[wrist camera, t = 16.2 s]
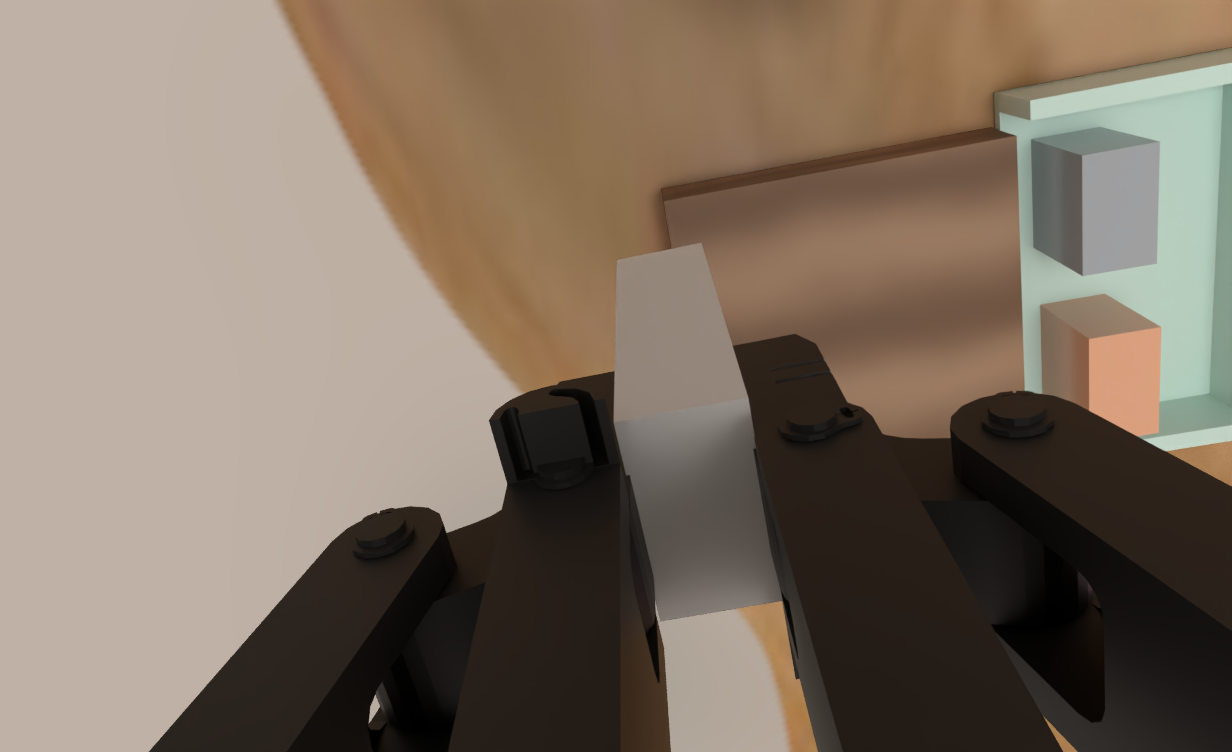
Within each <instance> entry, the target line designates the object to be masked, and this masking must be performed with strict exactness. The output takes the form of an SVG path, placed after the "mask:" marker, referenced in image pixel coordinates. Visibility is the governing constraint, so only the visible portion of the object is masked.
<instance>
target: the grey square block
mask: <svg viewBox="0 0 1232 752" xmlns="http://www.w3.org/2000/svg"><path fill="white" fill-rule="evenodd" d="M1159 161H1160V141H1156V140H1152V139H1148V138H1144V137H1139V136H1135V135H1131V134H1127V133H1123V132H1119V131H1115V130H1111V129H1107V128H1103V127H1096V128H1090V129H1085V130H1079V131H1074V132H1068V133H1063V134H1057V135H1052V136H1046V137H1041V138H1035V139H1031V164H1032V207H1033V248H1035V249H1036V250H1038V251H1040V252H1042V253H1043V254H1045V255H1047V256H1049V257H1050V258H1052V259H1054V260H1055V261H1057V262H1059V263H1061V264H1062V265H1064V266H1066V267H1068V268H1069V269H1071V270H1073V271H1074V272H1076V273H1078V274H1080V275H1081V276H1087V275H1093V274H1099V273H1105V272H1111V271H1116V270H1122V269H1128V268H1134V267H1140V266H1146V265H1152V264H1157V240H1158V200H1159Z"/></svg>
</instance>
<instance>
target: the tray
mask: <svg viewBox="0 0 1232 752" xmlns="http://www.w3.org/2000/svg"><path fill="white" fill-rule="evenodd" d="M994 113H995V129H997V130H1000V131H1003V132H1006V133H1009V134H1013V135H1016V136H1017V161H1018V193H1019V224H1020V255H1021V287H1022V318H1023V349H1024V380H1025V391H1031V392H1034V393H1038V394H1042V361H1041V318H1040V305H1041V304H1047V303H1053V302H1059V301H1065V300H1070V299H1076V298H1082V297H1088V296H1094V295H1100V294H1106V295H1108V296H1110V297H1111V298H1113V299H1115V300H1116V301H1118V302H1120V303H1122V304H1123V305H1125V306H1127V307H1128V308H1130V309H1132V310H1133V311H1135V312H1137V313H1139V314H1140V315H1142V316H1144V317H1145V318H1147V319H1149V320H1150V321H1152V322H1154V323H1156V324H1157V325H1159V326H1161V361H1160V400H1159V433H1154V434H1148V435H1142V436H1138V437H1139V438H1141V439H1143V440H1145V441H1147V442H1149V443H1151V444H1153V445H1154V446H1156V447H1158V448H1160V449H1162V450H1164V451H1170V450H1176V449H1182V448H1188V447H1195V446H1201V445H1207V444H1213V443H1220V442H1226V441H1232V47H1231V48H1226V49H1221V50H1216V51H1210V52H1205V53H1200V54H1194V55H1189V56H1184V57H1179V58H1173V59H1168V60H1163V61H1157V62H1152V63H1147V64H1141V65H1136V66H1131V67H1126V68H1120V69H1115V70H1110V71H1104V72H1099V73H1094V74H1089V75H1083V76H1078V77H1073V78H1067V79H1062V80H1057V81H1052V82H1046V83H1041V84H1036V85H1030V86H1025V87H1020V88H1015V89H1009V90H1004V91H999V92H994ZM1096 127H1103V128H1107V129H1111V130H1115V131H1119V132H1123V133H1127V134H1131V135H1135V136H1139V137H1144V138H1148V139H1152V140H1156V141H1160V161H1159V200H1158V240H1157V264H1152V265H1146V266H1140V267H1134V268H1128V269H1122V270H1116V271H1111V272H1105V273H1099V274H1093V275H1087V276H1081V275H1080V274H1078V273H1076V272H1074V271H1073V270H1071V269H1069V268H1068V267H1066V266H1064V265H1062V264H1061V263H1059V262H1057V261H1055V260H1054V259H1052V258H1050V257H1049V256H1047V255H1045V254H1043V253H1042V252H1040V251H1038V250H1036V249H1035V248H1033V207H1032V164H1031V139H1035V138H1041V137H1046V136H1052V135H1057V134H1063V133H1068V132H1074V131H1079V130H1085V129H1090V128H1096Z"/></svg>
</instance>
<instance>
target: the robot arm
mask: <svg viewBox="0 0 1232 752" xmlns="http://www.w3.org/2000/svg"><path fill="white" fill-rule="evenodd" d="M489 422H490V425H491V429H492V433H493V436H494V440H495V443H496V446H497V450H498V453H499V456H500V460H501V464H502V467H503V470H504V474H505V477H506V480H507V489H506V493H505V498H504V502H503V507H502V510H501V511H499V512H497V513H496V514H494V515H492V516H490V517H488V518H486V519H483V520H481V521H479V522H476V523H473V524H471V525H468V526H465V527H462V528H460V529H457V530H454V531H452V532H449V533H446V531H445V527H444V524H443V522H442V519H441V516H440V514H439V513H437V512H435V511H433V510H431V509H429V508H425V507H411V506H410V507H404V508H397V509H394V508H390V509H386V510H382V511H380V513H379V514H377V513H374V514H371V515H368V516H366V517H365V518H363V520H362V521H360V522H358V523H356V524H355V525H353V526H351V527H349V528H347V529H346V530H345V531H344V532H343V533H341V534H340V535H339V536H338V537H337V538H336V539H334V541H332V542H331V543H330V545H329V546H328V547H327V548H326V549H325V550H324V551H323V553H322V554H321V555H320V556H319V557H318V558H317V559H316V561H315V562H314V563H313V564H312V565H311V566H310V567H309V569H308V570H307V571H306V572H305V573H304V574H303V576H302V577H301V578H300V579H299V580H298V581H297V582H296V584H295V585H294V586H293V587H292V588H291V589H290V590H289V592H288V593H287V594H286V595H285V596H284V598H283V599H282V600H281V601H280V602H279V603H278V604H277V605H276V607H275V608H274V609H273V610H272V611H271V612H270V614H269V615H268V616H267V617H266V618H265V619H264V620H263V621H262V623H261V624H260V625H259V626H258V627H257V628H256V629H255V631H254V632H253V633H252V634H251V635H250V636H249V637H248V639H247V640H246V641H245V642H244V643H243V644H242V645H241V647H240V648H239V649H238V650H237V651H236V652H235V654H234V655H233V656H232V657H231V658H230V659H229V660H228V662H227V663H226V664H225V665H224V666H223V667H222V668H221V670H220V671H219V672H218V673H217V674H216V675H215V676H214V678H213V679H212V680H211V681H210V682H209V683H208V684H207V686H206V687H205V688H204V689H203V690H202V691H201V693H200V694H199V695H198V696H197V697H196V698H195V699H194V701H193V702H192V703H191V704H190V705H189V706H188V708H187V709H186V710H185V711H184V712H183V713H182V714H181V715H180V717H179V718H178V719H177V720H176V721H175V722H174V724H173V725H172V726H171V727H170V728H169V729H168V730H167V732H166V733H165V734H164V735H163V736H162V737H161V738H160V740H159V741H158V742H157V743H156V744H155V745H154V746H153V748H152V749H151V750H150V751H149V752H671V748H670V732H669V718H668V702H667V689H666V688H667V687H666V672H665V657H664V647H663V642H662V638H661V634H660V629H659V626H658V621H657V617H656V611H655V601H656V605H657V609H658V613H659V618H660V621H665V620H671V619H677V618H683V617H689V616H695V615H701V614H707V613H713V612H719V611H725V610H731V609H737V608H743V607H749V606H755V605H760V604H766V603H772V602H778V601H782V602H783V607H784V613H785V619H786V625H787V631H788V636H789V642H790V648H791V654H792V660H793V665H794V671H795V677H796V679H800V681H801V685H802V689H803V693H804V697H805V701H806V705H807V709H808V713H809V717H810V721H811V725H812V729H813V733H814V737H815V741H816V745H817V749H818V752H1063V751H1062V749H1061V747H1060V745H1059V743H1058V742H1057V740H1056V738H1055V736H1054V735H1053V733H1052V731H1051V729H1050V728H1049V726H1048V724H1047V722H1046V721H1045V719H1044V717H1045V718H1046V719H1047V720H1048V721H1049V722H1050V723H1051V724H1052V725H1053V726H1054V727H1055V728H1056V730H1057V731H1058V732H1059V733H1060V734H1061V735H1062V736H1063V737H1064V738H1065V739H1066V740H1067V741H1068V742H1069V743H1070V744H1071V745H1072V746H1073V747H1074V748H1075V749H1076V750H1077V751H1078V752H1232V487H1231V486H1229V485H1228V484H1226V483H1224V482H1222V481H1220V480H1218V479H1216V478H1214V477H1213V476H1211V475H1209V474H1207V473H1205V472H1203V471H1201V470H1199V469H1198V468H1196V467H1194V466H1192V465H1190V464H1188V463H1186V462H1184V461H1183V460H1181V459H1179V458H1177V457H1175V456H1173V455H1171V454H1169V453H1168V452H1166V451H1164V450H1162V449H1160V448H1158V447H1156V446H1154V445H1153V444H1151V443H1149V442H1147V441H1145V440H1143V439H1141V438H1139V437H1138V436H1136V435H1134V434H1132V433H1130V432H1128V431H1126V430H1124V429H1123V428H1121V427H1119V426H1117V425H1115V424H1113V423H1111V422H1109V421H1108V420H1106V419H1104V418H1102V417H1100V416H1098V415H1096V414H1094V413H1093V412H1091V411H1089V410H1087V409H1085V408H1083V407H1081V406H1079V405H1078V404H1076V403H1074V402H1071V401H1068V400H1065V399H1062V398H1060V397H1057V396H1053V395H1046V394H1038V393H1034V392H1031V391H1016V393H1013V391H1007V392H1000V393H997V394H996V395H992V396H987V397H982V398H979V399H977V400H974V401H972V402H970V403H967V404H965V405H963V406H961V407H960V408H959V409H958V410H957V411H956V412H955V413H954V414H953V415H952V416H951V422H950V436H951V438H902V437H896V436H890V435H885V434H882V432H881V430H880V429H879V427H878V425H877V423H876V422H875V420H874V418H873V416H872V415H871V414H870V413H868V412H867V411H866V410H865V409H864V408H863V407H860V406H857V405H854V404H851V403H848V402H847V400H846V399H845V397H844V395H843V393H842V391H841V389H840V387H839V385H838V384H837V382H836V380H835V378H834V376H833V374H832V373H831V371H830V369H829V367H828V365H827V363H826V361H824V357H823V356H822V354H821V352H820V350H819V348H818V346H817V344H816V343H814V342H811V341H809V340H807V339H805V338H803V337H801V336H799V335H797V334H791V335H786V336H781V337H776V338H771V339H765V340H760V341H755V342H750V343H745V344H740V345H734V346H732V342H731V339H730V336H729V332H728V329H727V326H726V323H725V319H724V316H723V313H722V309H721V306H720V303H719V299H718V296H717V293H716V289H715V286H714V283H713V280H712V276H711V273H710V270H709V266H708V263H707V260H706V256H705V253H704V250H703V246H702V243H698V244H693V245H688V246H683V247H678V248H674V249H669V250H664V251H659V252H654V253H649V254H644V255H639V256H634V257H629V258H624V259H619V260H617V279H616V328H615V371H614V372H608V373H603V374H598V375H593V376H588V377H582V378H577V379H572V380H567V381H562V382H559V383H558V384H557V385H553V386H548V387H544V388H541V389H537V390H533V391H530V392H527V393H525V394H523V395H521V396H518V397H516V398H514V399H512V400H510V401H508V402H507V403H505V404H504V405H503V406H501V407H500V408H498V409H497V410H496V411H495V412H494V414H493V415H492V417H491V418H490V420H489ZM375 694H376V697H377V699H378V702H379V704H380V708H379V709H378V711H377V713H376V714H375V716H374V717H373V719H372V721H371V722H370V723H369V724H368V722H369V714H370V706H371V703H372V701H373V699H374V696H375ZM1043 716H1044V717H1043Z"/></svg>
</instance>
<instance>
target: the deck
mask: <svg viewBox="0 0 1232 752" xmlns="http://www.w3.org/2000/svg"><path fill="white" fill-rule="evenodd" d="M661 191H662V197H663V203H664V208H665V214H666V220H667V226H668V232H669V238H670V244H671V249H674V248H678V247H683V246H688V245H693V244H698V243H702V246H703V250H704V253H705V256H706V260H707V263H708V266H709V270H710V273H711V276H712V280H713V283H714V286H715V289H716V293H717V296H718V299H719V303H720V306H721V309H722V313H723V316H724V319H725V323H726V326H727V329H728V332H729V336H730V339H731V342H732V346H734V345H740V344H745V343H750V342H755V341H760V340H765V339H771V338H776V337H781V336H786V335H791V334H797V335H799V336H801V337H803V338H805V339H807V340H809V341H811V342H814V343H816V344H817V346H818V348H819V350H820V352H821V354H822V356H823V357H824V361H826V363H827V365H828V367H829V369H830V371H831V373H832V374H833V376H834V378H835V380H836V382H837V384H838V385H839V387H840V389H841V391H842V393H843V395H844V397H845V399H846V400H847V402H848V403H851V404H854V405H857V406H860V407H863V408H864V409H865V410H866V411H867V412H868V413H870V414H871V415H872V416H873V418H874V420H875V422H876V423H877V425H878V427H879V429H880V430H881V432H882V434H885V435H890V436H896V437H902V438H951V436H950V422H951V416H952V415H953V414H954V413H955V412H956V411H957V410H958V409H959V408H960V407H961V406H963V405H965V404H967V403H970V402H972V401H974V400H977V399H979V398H982V397H987V396H992V395H996V394H997V393H1000V392H1007V391H1013V393H1016V391H1025V380H1024V349H1023V318H1022V287H1021V255H1020V224H1019V193H1018V161H1017V136H1016V135H1013V134H1009V133H1006V132H1003V131H1000V130H997V129H994V128H991V127H990V128H985V129H980V130H974V131H969V132H964V133H958V134H953V135H947V136H942V137H937V138H931V139H926V140H921V141H915V142H910V143H905V144H899V145H894V146H888V147H883V148H878V149H872V150H867V151H862V152H856V153H851V154H846V155H840V156H835V157H829V158H824V159H819V160H813V161H808V162H803V163H797V164H792V165H786V166H781V167H776V168H770V169H765V170H760V171H754V172H749V173H744V174H738V175H733V176H727V177H722V178H717V179H711V180H706V181H701V182H695V183H690V184H685V185H679V186H674V187H668V188H663V189H661Z"/></svg>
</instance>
